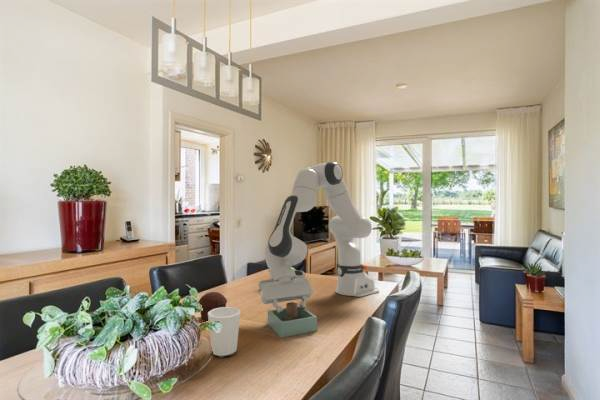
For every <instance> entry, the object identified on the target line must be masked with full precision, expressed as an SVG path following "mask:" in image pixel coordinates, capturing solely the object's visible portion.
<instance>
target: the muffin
mask: <svg viewBox="0 0 600 400" xmlns="http://www.w3.org/2000/svg"><path fill="white" fill-rule="evenodd" d="M198 302H199V303H200V304H201V305H202V308H203V311H201V312H200V318H201V321H202V320H203V322H205V321H208V312H209V311H211V310H213V309H216V308H220V307H227V303H228V300H227V298H226V297H225V295H223V294H222V293H220V292H218V291H209V292H206V293H205V294H203V295H202V296H201V297H200V299H199V300H198Z"/></svg>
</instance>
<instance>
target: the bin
mask: <svg viewBox="0 0 600 400" xmlns="http://www.w3.org/2000/svg"><path fill="white" fill-rule="evenodd" d="M282 309H283V312H282V313H278V312H277V309H276V308H275V309H270V310H267V324H268V326H269V327H270V328H271V329H272V330H273V331H274V332H275V333H276V334H277V335H278V336H279V337H280V338H287V337H291V336H297V335H302V334H307V333H313V332H318V317H317V315H315V314H313V313H312V312H311V311H309V310H308V309H306V308H305V309H301V307H300V305H297V319H296V320H290V321H286V307H282Z"/></svg>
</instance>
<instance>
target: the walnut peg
mask: <svg viewBox="0 0 600 400" xmlns="http://www.w3.org/2000/svg"><path fill="white" fill-rule="evenodd" d="M285 304H286V305H285V306H286V307H285V308H286V321H290V320H296V319H297V306H298V303H297V302H295V301H294V302H292V301H291V302H290V301H289V302H287V303H285Z"/></svg>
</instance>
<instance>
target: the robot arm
mask: <svg viewBox="0 0 600 400" xmlns="http://www.w3.org/2000/svg"><path fill="white" fill-rule="evenodd" d="M319 189H323V190H324V194H325V197H326V199H327V202H328V204H329V206H330V209H331V211H332V212H333V214H336V216H333V217H331V218H330V220H329V222H328V229H329V232H330V233H331V234H332V235H333V237H334V239H335V243H336V245H337V251H338V263H337V275H338V276H337V282H336V283H337V284H336V288H335V293H336V294H339V295H342V296H349V297H350V296H351V297H352V296H353V297H359V298H360V297H365V296H369V295H373V294H377V293H379V292H380V289H379V288H378V287H376V286H375V281H374V279H373V278H372V277H371V276H370V275H369V274H368V273H366V272H365V271H366V270H367V269H368V265H365V264H361V247H360V246H358V245H357V243H356V242H355V239H363V238H368V237H369V236H370V235H371V233H372V230H373V226H372V223H371V221H370V220H369V218H367V217H365V216H364V215H363V214H362V212H360V210H359V209H358V208H357V206H356V205H355V204H354V202H353V200H352V197H351V194H350V192H349V189H348V187H347V185H346V181H345V180H344V178H343V169H342V166H341V165H340V164H339V163H338V162H336V161H328V162H324V163H316V165H312V166H310V167H305V168H303V169H300V170H299V172H298V173H297V175H296V178H295V179H294V182H293V187H292V190H291V194H290V195H289V196H287V198H286V199H285V200H284V203H283V205H282V207H281V210H280V212H279V215H278V218H277V221H276V224H275V226H274V229H273V231H272V232H271V234H270V236H269V238H268V240H267V241H268V242H267V245H266V247H265V248H264V256H265V262H266V265H267V268H268V269H269V270H270V272H269V276H270V279H263V280H262V279H261V281H259V282H258V289H259V291H260V295H261V302H262V303H263V304H264V305H268V304H272V306H273V308H275V309H277V312H278V313H282V312H283V309H282V308H283V306H281V305H279V303H282V302H284V303H285V302H290V301H291V302H292V301H296V300H300V301H301V302H302V303H300V305H299V306H300V307H301V309H306V308H307V305H306V301H307V299H310V298H311V296H312V295H313V292H314V290H313V287H312V285H311V282H310V281H309V279H308V278H307V277H306V272H304V271H303V270H298V269H296V268H294V269H291V267H294V266H296V265H298V264H300V263H302V262H304V261H305V259H306V258H307V256H308V249H309V247H308V245H307V244H306V243H305V242H304V241H303V240H301V239H299V238H297V237H296V236H294V235H293V234H292V232H291V228H292V224H293V223H294V219H295V216H296V214H297V213H304V212H308V211H311V210H312V209H314V207H315V205H316V203H317V199H318V198H317V197H318V191H319ZM364 270H365V271H364Z"/></svg>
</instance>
